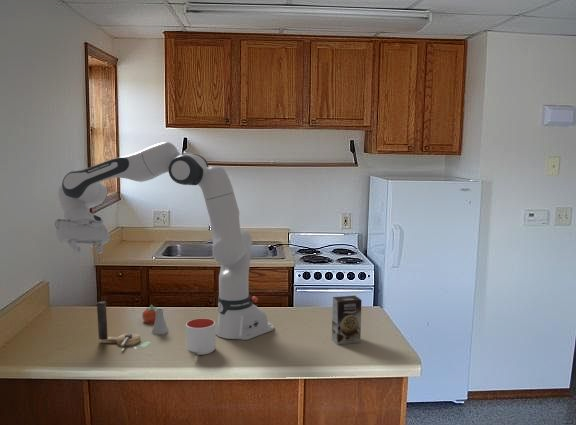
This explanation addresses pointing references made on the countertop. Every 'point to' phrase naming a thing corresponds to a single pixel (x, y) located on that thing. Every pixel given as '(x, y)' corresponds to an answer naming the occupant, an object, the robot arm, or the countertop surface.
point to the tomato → (149, 314)
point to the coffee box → (346, 320)
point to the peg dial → (102, 330)
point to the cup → (200, 336)
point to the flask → (159, 323)
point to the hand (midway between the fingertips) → (89, 252)
